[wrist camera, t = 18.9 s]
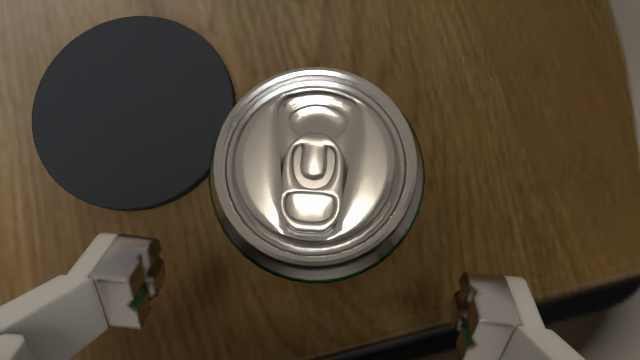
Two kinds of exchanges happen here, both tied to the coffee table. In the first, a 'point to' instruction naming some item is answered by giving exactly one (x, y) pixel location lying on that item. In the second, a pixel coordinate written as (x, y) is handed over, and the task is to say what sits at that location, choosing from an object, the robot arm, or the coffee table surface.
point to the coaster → (131, 113)
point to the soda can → (316, 175)
